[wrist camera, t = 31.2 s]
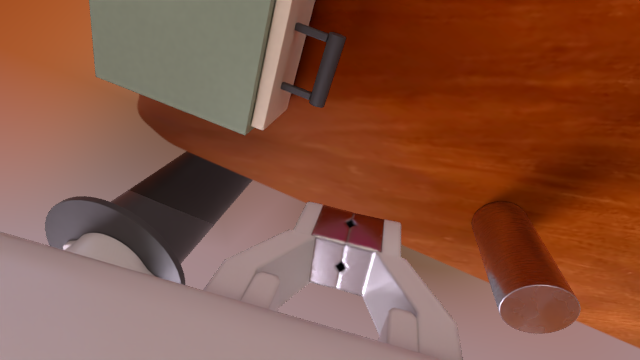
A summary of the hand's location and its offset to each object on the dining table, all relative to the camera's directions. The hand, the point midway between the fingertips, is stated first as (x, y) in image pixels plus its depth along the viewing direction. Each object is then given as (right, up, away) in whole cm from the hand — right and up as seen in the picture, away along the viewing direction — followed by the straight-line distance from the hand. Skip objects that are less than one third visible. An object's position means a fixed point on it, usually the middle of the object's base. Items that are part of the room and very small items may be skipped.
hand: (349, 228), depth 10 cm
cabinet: (-10, +18, +21) cm, 29 cm away
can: (+19, -3, +25) cm, 32 cm away
